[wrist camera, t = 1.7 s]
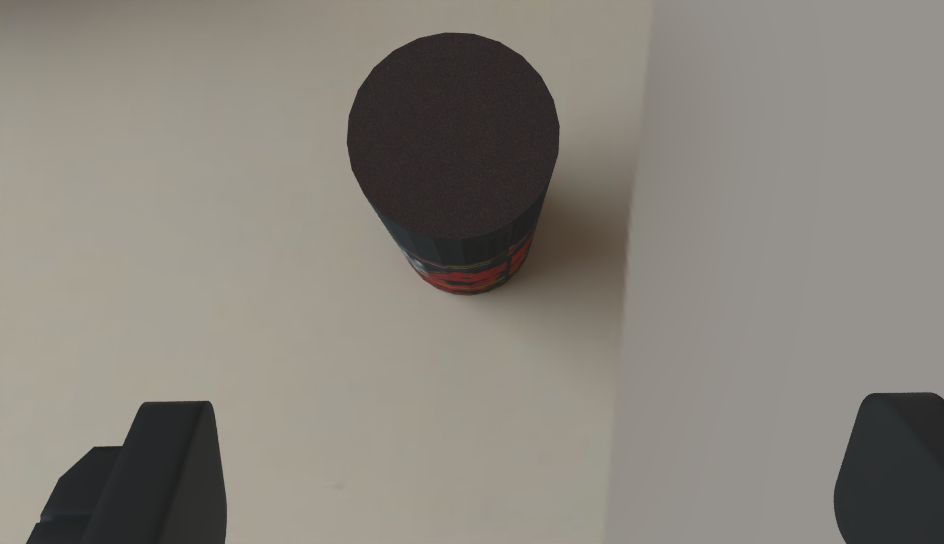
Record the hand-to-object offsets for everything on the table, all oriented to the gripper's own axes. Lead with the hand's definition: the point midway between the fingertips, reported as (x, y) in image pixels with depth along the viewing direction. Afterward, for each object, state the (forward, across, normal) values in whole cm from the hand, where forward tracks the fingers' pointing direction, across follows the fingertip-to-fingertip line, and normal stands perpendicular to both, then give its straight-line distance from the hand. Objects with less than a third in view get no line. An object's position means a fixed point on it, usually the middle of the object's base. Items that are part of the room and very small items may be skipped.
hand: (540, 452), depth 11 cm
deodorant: (+27, -1, +10) cm, 29 cm away
